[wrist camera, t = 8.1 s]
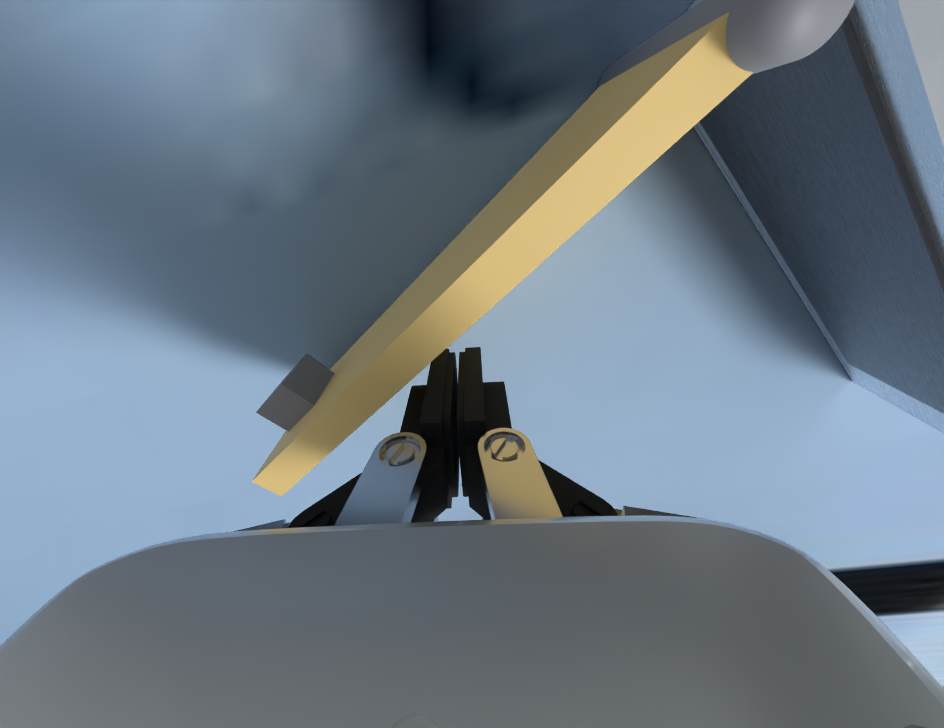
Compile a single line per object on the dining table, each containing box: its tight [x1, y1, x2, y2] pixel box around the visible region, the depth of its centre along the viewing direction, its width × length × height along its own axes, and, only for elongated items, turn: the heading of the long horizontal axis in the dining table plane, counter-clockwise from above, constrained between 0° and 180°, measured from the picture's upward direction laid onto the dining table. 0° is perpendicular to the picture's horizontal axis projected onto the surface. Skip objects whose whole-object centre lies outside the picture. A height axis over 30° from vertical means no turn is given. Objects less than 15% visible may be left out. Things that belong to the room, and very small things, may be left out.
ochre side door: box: [252, 0, 855, 496], centre depth 10 cm, size 16×2×7 cm, turn 134°
